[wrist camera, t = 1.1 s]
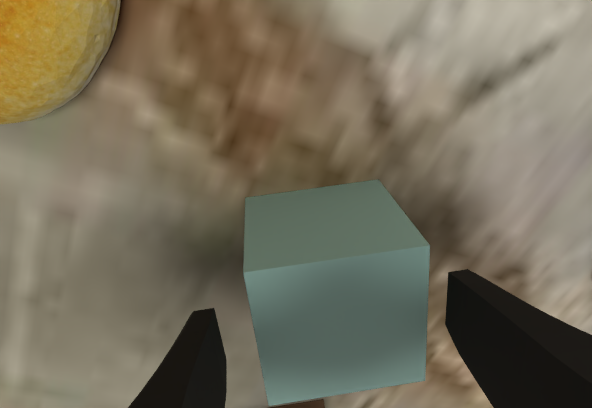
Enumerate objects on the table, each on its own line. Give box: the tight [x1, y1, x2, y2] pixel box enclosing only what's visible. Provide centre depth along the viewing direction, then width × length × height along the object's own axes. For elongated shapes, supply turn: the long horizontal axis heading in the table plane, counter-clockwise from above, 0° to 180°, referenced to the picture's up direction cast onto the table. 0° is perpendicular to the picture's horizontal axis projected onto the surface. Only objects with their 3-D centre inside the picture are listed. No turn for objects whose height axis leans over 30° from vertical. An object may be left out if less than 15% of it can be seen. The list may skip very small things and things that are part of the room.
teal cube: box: [243, 180, 430, 406], centre depth 14 cm, size 5×5×5 cm
